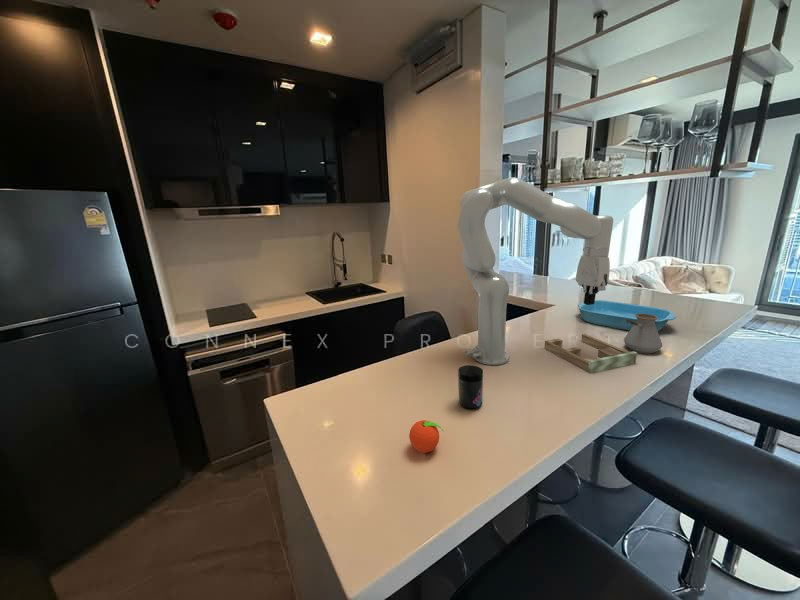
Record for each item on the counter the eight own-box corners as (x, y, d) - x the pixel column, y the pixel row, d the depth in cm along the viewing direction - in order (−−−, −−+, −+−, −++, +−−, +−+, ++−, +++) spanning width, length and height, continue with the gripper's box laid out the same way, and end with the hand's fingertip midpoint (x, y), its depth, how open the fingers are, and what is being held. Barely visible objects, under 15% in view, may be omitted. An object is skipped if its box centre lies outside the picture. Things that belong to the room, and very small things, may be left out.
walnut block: (609, 366, 111) (610, 355, 110) (597, 360, 115) (598, 349, 114) (621, 363, 112) (622, 353, 111) (608, 358, 117) (609, 347, 116)
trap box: (590, 373, 107) (592, 362, 106) (544, 348, 127) (545, 338, 126) (635, 363, 111) (637, 352, 110) (583, 340, 132) (584, 331, 131)
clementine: (443, 438, 80) (442, 412, 78) (445, 459, 73) (445, 431, 71) (410, 439, 80) (408, 413, 79) (409, 459, 74) (408, 432, 72)
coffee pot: (631, 341, 129) (636, 304, 125) (667, 350, 120) (673, 310, 116) (602, 355, 118) (607, 315, 115) (639, 366, 109) (645, 324, 105)
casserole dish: (568, 321, 155) (569, 306, 154) (587, 310, 169) (588, 297, 167) (666, 341, 128) (669, 323, 126) (678, 326, 142) (681, 310, 140)
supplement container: (470, 413, 89) (470, 379, 86) (453, 402, 94) (453, 369, 92) (487, 405, 92) (488, 371, 90) (470, 395, 98) (470, 362, 95)
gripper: (570, 250, 119) (564, 299, 124) (605, 255, 105) (597, 310, 110) (587, 249, 121) (581, 298, 126) (624, 254, 107) (615, 308, 112)
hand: (588, 303), depth 118 cm, fingers closed
